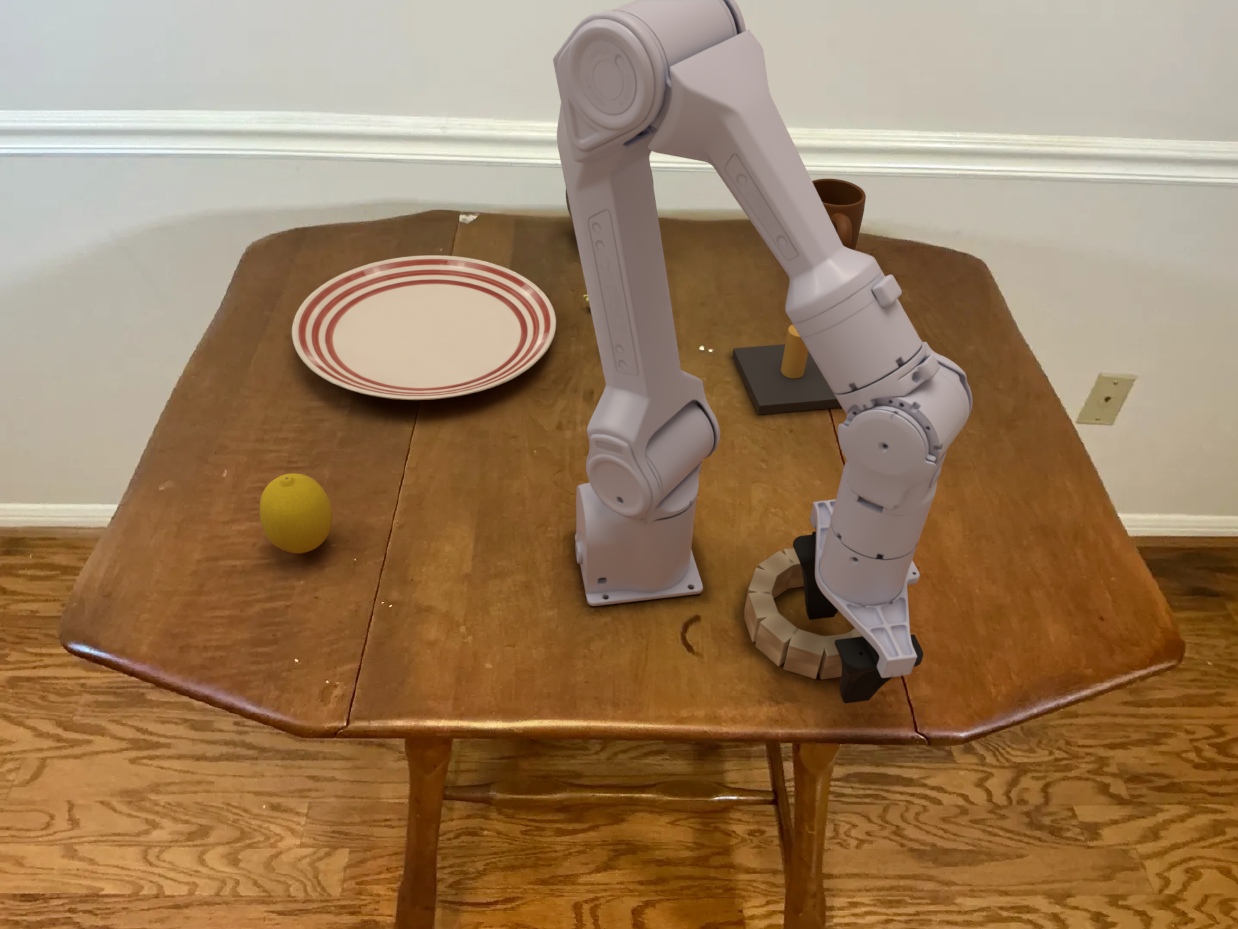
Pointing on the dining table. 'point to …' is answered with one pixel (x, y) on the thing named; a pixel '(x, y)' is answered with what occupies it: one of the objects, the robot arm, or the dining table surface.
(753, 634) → the ring
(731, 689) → the dining table surface
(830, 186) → the mug
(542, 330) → the dinner plate
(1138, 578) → the dining table surface
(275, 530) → the lemon
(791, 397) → the peg stand
